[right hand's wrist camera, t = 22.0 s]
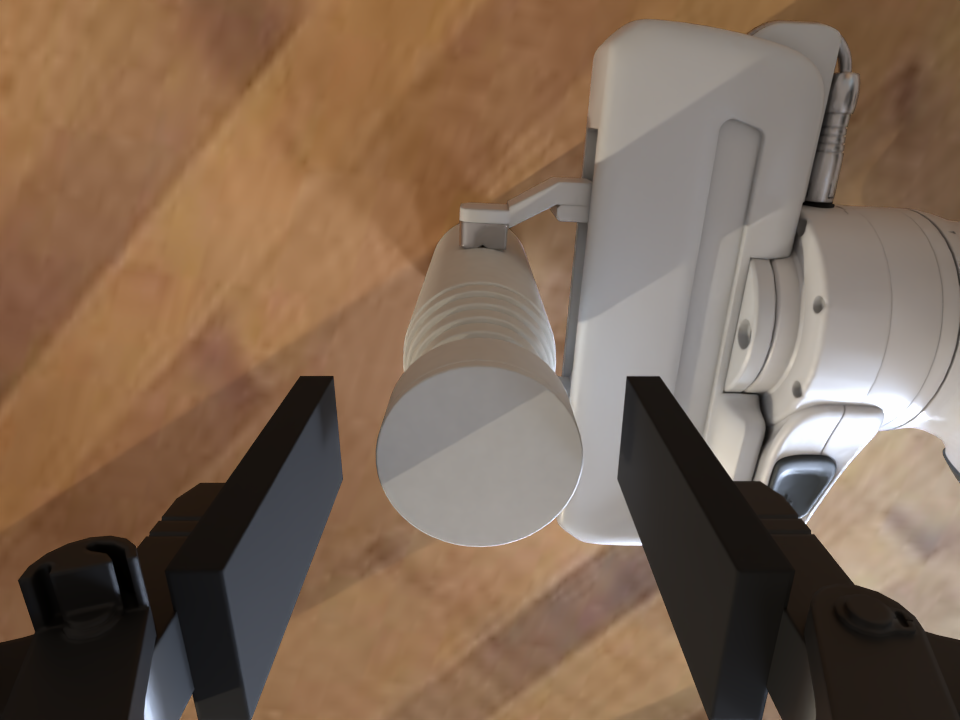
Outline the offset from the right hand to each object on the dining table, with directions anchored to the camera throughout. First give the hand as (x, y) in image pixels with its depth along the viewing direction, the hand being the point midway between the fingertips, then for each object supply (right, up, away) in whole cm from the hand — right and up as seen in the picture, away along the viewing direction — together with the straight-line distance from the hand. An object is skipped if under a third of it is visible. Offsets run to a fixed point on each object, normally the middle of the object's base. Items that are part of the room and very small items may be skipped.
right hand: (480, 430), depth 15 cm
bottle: (0, +6, +16) cm, 17 cm away
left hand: (-1, +4, +10) cm, 11 cm away
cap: (0, 0, -1) cm, 1 cm away
